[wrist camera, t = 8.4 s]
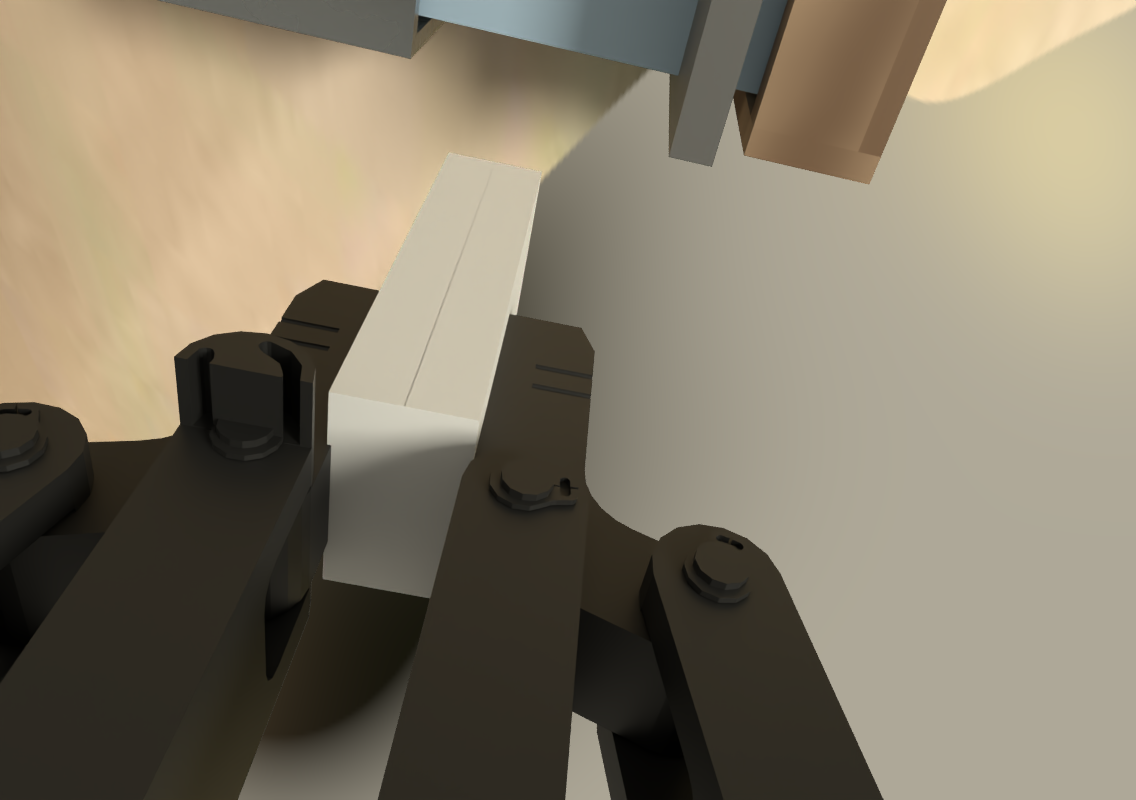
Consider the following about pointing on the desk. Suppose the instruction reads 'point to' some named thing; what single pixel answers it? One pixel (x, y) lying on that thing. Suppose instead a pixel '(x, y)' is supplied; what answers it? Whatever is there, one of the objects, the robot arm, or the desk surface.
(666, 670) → the robot arm
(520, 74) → the desk surface
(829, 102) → the socket block
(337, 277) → the desk surface
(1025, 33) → the desk surface
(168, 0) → the sleeve
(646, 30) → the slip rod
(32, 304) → the desk surface
